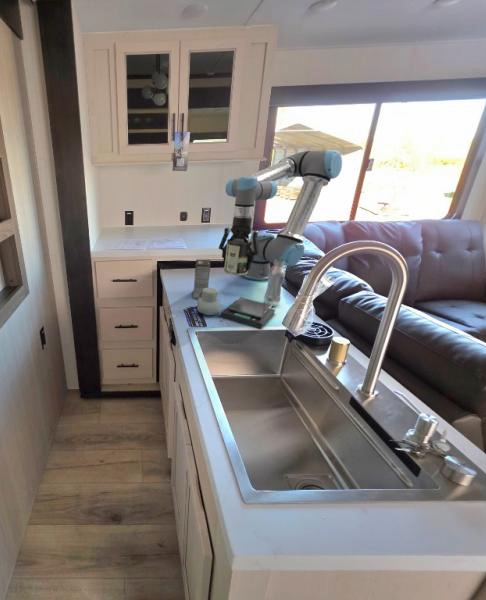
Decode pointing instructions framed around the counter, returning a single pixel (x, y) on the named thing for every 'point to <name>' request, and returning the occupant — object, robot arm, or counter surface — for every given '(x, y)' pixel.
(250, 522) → the counter surface
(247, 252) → the coffee can
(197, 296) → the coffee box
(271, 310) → the scale
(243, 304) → the scale pan
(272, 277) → the plastic bottle
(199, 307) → the air freshener
